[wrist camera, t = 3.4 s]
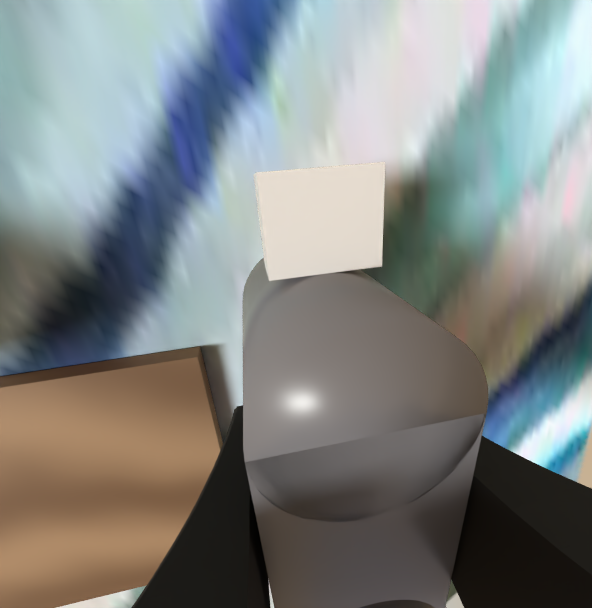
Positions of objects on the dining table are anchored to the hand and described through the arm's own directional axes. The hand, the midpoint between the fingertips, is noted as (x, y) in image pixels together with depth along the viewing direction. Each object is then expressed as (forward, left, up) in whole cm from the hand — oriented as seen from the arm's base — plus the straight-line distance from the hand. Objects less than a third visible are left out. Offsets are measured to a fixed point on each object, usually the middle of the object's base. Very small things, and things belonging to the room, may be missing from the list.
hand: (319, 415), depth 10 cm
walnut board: (-5, +10, -3) cm, 12 cm away
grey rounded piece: (+1, 0, -2) cm, 2 cm away
